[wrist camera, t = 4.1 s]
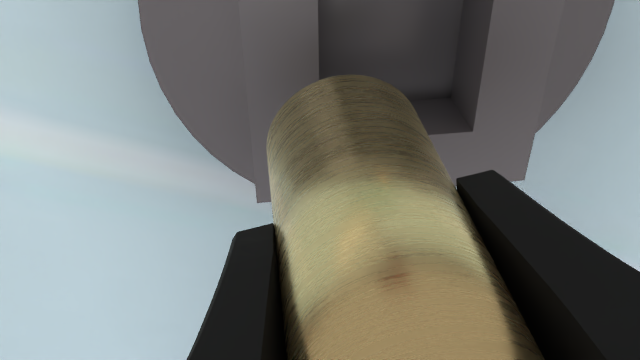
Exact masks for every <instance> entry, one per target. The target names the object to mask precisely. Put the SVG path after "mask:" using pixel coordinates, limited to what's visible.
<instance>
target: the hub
mask: <svg viewBox="0 0 640 360" xmlns="http://www.w3.org/2000/svg"><path fill="white" fill-rule="evenodd" d="M613 4H614V0H138V5H139V13H140V21H141V29H142V34H143V38H144V41H145V45H146V49H147V53H148V57H149V60H150V63H151V66H152V68H153V70H154V73H155V75H156V78H157V80H158V82H159V85H160V87H161V89H162V91H163V93H164V95H165V96H166V98H167V100H168V101H169V103H170V105H171V107H172V108H173V110H174V112H175V114H176V115H177V116H178V117H179V119H180V120H181V121H182V123H183V124H184V125H185V127H186V128H187V129H188V130H189V132H190V133H191V134H192V136H193V137H194V138H195V139H196V140H197V141H198V142H199V143H200V144H201V145H202V146H203V147H204V148H205V149H206V150H207V151H208V152H209V153H210V154H211V155H213V156H214V157H215V158H217V159H218V160H219V161H221V162H222V163H223V164H224V165H226V166H227V167H228V168H230V169H231V170H232V171H234V172H236V173H237V174H239V175H241V176H242V177H244V178H246V179H247V180H249V181H251V182H252V183H254V184H255V186H256V197H257V203H262V202H271V192H270V182H269V172H268V162H267V151H266V145H267V137H268V132H269V129H270V126H271V124H272V121H273V119H274V118H275V116H276V114H277V113H278V111H279V110H280V109H281V107H282V106H283V105H284V104H285V103H286V102H287V101H288V100H289V99H290V98H291V97H292V96H293V95H294V94H296V93H297V92H298V91H300V90H301V89H303V88H305V87H306V86H308V85H310V84H312V83H315V82H317V81H319V80H322V79H326V78H329V77H334V76H339V75H363V76H369V77H373V78H376V79H380V80H382V81H384V82H387V83H389V84H391V85H392V86H394V87H395V88H397V89H398V90H399V91H400V92H402V93H403V94H404V95H405V96H406V97H407V99H408V100H409V101H410V102H411V104H412V106H413V107H414V109H415V111H416V113H417V115H418V117H419V118H420V120H421V122H422V124H423V126H424V128H425V130H426V132H427V134H428V136H429V138H430V140H431V142H432V143H433V145H434V147H435V149H436V151H437V153H438V155H439V157H440V159H441V161H442V163H443V165H444V167H445V168H446V170H447V172H448V174H449V176H450V178H451V180H452V182H453V184H454V186H457V184H456V178H460V177H464V176H468V175H472V174H476V173H481V172H485V171H489V170H494V171H496V172H497V173H499V174H500V175H502V176H503V177H504V178H506V179H507V180H508V181H520V180H524V179H525V175H526V170H527V166H528V162H529V157H530V153H531V148H532V144H533V140H534V135H535V133H536V132H537V131H538V130H540V128H541V127H542V126H543V125H544V124H545V123H546V122H547V121H548V120H549V119H550V118H551V116H552V115H553V114H554V113H555V112H556V111H557V110H558V109H559V108H560V106H561V105H562V104H563V102H564V101H565V100H566V98H567V97H568V96H569V94H570V93H571V92H572V90H573V89H574V88H575V86H576V85H577V83H578V81H579V80H580V78H581V76H582V75H583V73H584V71H585V70H586V68H587V66H588V65H589V63H590V61H591V60H592V57H593V55H594V53H595V51H596V49H597V47H598V45H599V42H600V40H601V38H602V36H603V34H604V31H605V28H606V25H607V22H608V19H609V16H610V13H611V10H612V7H613Z"/></svg>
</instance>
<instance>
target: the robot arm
mask: <svg viewBox="0 0 640 360" xmlns="http://www.w3.org/2000/svg"><path fill="white" fill-rule="evenodd" d="M456 184H457V192H458V193H459V195H460V197H461V199H462V201H463V203H464V205H465V207H466V209H467V211H468V213H469V215H470V217H471V219H472V220H473V222H474V224H475V226H476V228H477V230H478V232H479V234H480V236H481V238H482V240H483V242H484V244H485V245H486V247H487V249H488V251H489V253H490V255H491V257H492V259H493V261H494V263H495V265H496V267H497V269H498V270H499V272H500V274H501V276H502V278H503V280H504V282H505V284H506V286H507V288H508V290H509V292H510V294H511V296H512V297H513V299H514V301H515V303H516V305H517V307H518V309H519V311H520V313H521V315H522V317H523V319H524V321H525V322H526V324H527V326H528V328H529V330H530V332H531V334H532V336H533V338H534V340H535V342H536V344H537V346H538V347H539V349H540V351H541V353H542V355H543V357H544V359H545V360H640V272H639V271H637V270H636V269H634V268H632V267H631V266H629V265H628V264H626V263H624V262H623V261H621V260H620V259H618V258H617V257H615V256H613V255H612V254H610V253H609V252H607V251H606V250H604V249H603V248H601V247H600V246H598V245H597V244H595V243H594V242H592V241H591V240H589V239H588V238H587V237H585V236H584V235H582V234H581V233H579V232H578V231H576V230H575V229H573V228H572V227H570V226H569V225H568V224H566V223H565V222H563V221H562V220H561V219H559V218H558V217H556V216H555V215H554V214H552V213H551V212H549V211H548V210H547V209H545V208H544V207H543V206H541V205H540V204H539V203H537V202H536V201H535V200H533V199H532V198H531V197H529V196H528V195H527V194H525V193H524V192H523V191H521V190H520V189H519V188H517V187H516V186H515V185H514V184H512V183H511V182H510V181H508V180H507V179H506V178H504V177H503V176H502V175H500V174H499V173H497V172H496V171H494V170H489V171H485V172H481V173H476V174H472V175H468V176H464V177H460V178H456ZM187 360H287V352H286V342H285V332H284V322H283V312H282V302H281V292H280V281H279V270H278V260H277V250H276V240H275V230H274V224H273V223H272V224H268V225H264V226H260V227H256V228H252V229H248V230H244V231H240V232H237V233H236V235H235V236H234V238H233V240H232V243H231V246H230V250H229V253H228V256H227V259H226V262H225V265H224V268H223V271H222V274H221V277H220V280H219V282H218V285H217V288H216V291H215V293H214V296H213V299H212V301H211V304H210V306H209V309H208V311H207V314H206V316H205V318H204V321H203V323H202V326H201V328H200V331H199V333H198V336H197V338H196V340H195V343H194V345H193V347H192V349H191V351H190V354H189V356H188V358H187Z"/></svg>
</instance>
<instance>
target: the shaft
mask: <svg viewBox="0 0 640 360" xmlns="http://www.w3.org/2000/svg"><path fill="white" fill-rule="evenodd" d="M266 151H267V162H268V172H269V182H270V192H271V202H272V212H273V222H274V230H275V240H276V250H277V260H278V270H279V281H280V292H281V302H282V312H283V322H284V332H285V342H286V352H287V360H545V359H544V357H543V355H542V353H541V351H540V349H539V347H538V346H537V344H536V342H535V340H534V338H533V336H532V334H531V332H530V330H529V328H528V326H527V324H526V322H525V321H524V319H523V317H522V315H521V313H520V311H519V309H518V307H517V305H516V303H515V301H514V299H513V297H512V296H511V294H510V292H509V290H508V288H507V286H506V284H505V282H504V280H503V278H502V276H501V274H500V272H499V270H498V269H497V267H496V265H495V263H494V261H493V259H492V257H491V255H490V253H489V251H488V249H487V247H486V245H485V244H484V242H483V240H482V238H481V236H480V234H479V232H478V230H477V228H476V226H475V224H474V222H473V220H472V219H471V217H470V215H469V213H468V211H467V209H466V207H465V205H464V203H463V201H462V199H461V197H460V195H459V193H458V192H457V190H456V188H455V186H454V184H453V182H452V180H451V178H450V176H449V174H448V172H447V170H446V168H445V167H444V165H443V163H442V161H441V159H440V157H439V155H438V153H437V151H436V149H435V147H434V145H433V143H432V142H431V140H430V138H429V136H428V134H427V132H426V130H425V128H424V126H423V124H422V122H421V120H420V118H419V117H418V115H417V113H416V111H415V109H414V107H413V106H412V104H411V102H410V101H409V100H408V99H407V97H406V96H405V95H404V94H403V93H402V92H400V91H399V90H398V89H397V88H395V87H394V86H392V85H391V84H389V83H387V82H384V81H382V80H380V79H376V78H373V77H369V76H363V75H339V76H334V77H329V78H326V79H322V80H319V81H317V82H315V83H312V84H310V85H308V86H306V87H305V88H303V89H301V90H300V91H298V92H297V93H296V94H294V95H293V96H292V97H291V98H290V99H289V100H288V101H287V102H286V103H285V104H284V105H283V106H282V107H281V109H280V110H279V111H278V113H277V114H276V116H275V118H274V119H273V121H272V124H271V126H270V129H269V132H268V137H267V145H266Z"/></svg>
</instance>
